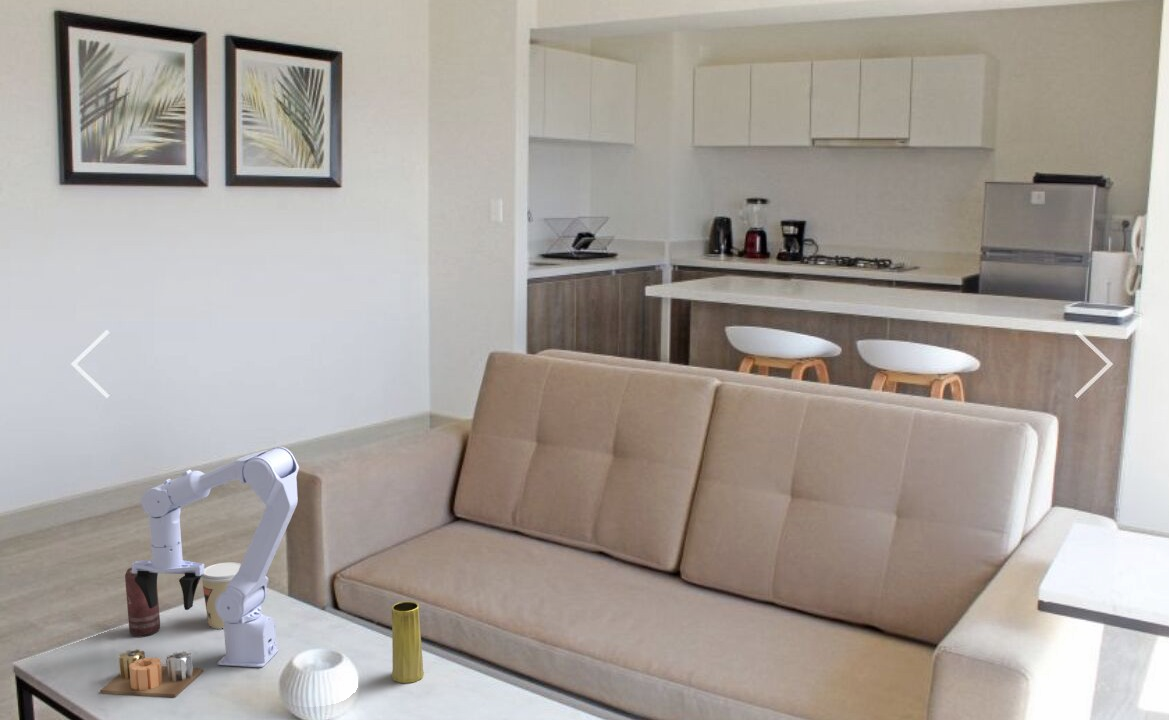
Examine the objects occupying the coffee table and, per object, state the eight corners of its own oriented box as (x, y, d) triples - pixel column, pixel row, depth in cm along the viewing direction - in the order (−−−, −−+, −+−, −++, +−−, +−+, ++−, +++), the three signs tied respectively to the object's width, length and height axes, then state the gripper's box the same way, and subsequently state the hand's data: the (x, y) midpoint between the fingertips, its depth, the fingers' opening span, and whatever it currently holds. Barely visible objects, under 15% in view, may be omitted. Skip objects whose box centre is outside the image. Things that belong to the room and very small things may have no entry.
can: (140, 640, 226) (135, 576, 223) (124, 632, 229) (118, 569, 227) (166, 630, 230) (162, 568, 228) (150, 623, 234) (145, 561, 232)
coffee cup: (206, 615, 238) (203, 563, 236) (250, 611, 240) (247, 560, 238) (202, 632, 229) (198, 578, 227) (248, 628, 231) (244, 574, 230)
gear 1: (150, 669, 211) (148, 648, 210) (137, 680, 206) (136, 658, 205) (128, 668, 211) (126, 647, 210) (115, 678, 207) (113, 657, 206)
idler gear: (164, 676, 208) (163, 656, 207) (158, 688, 202) (157, 668, 202) (135, 678, 207) (133, 658, 206) (128, 691, 202) (126, 671, 201)
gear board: (203, 671, 211) (202, 652, 210) (175, 697, 200) (173, 678, 200) (132, 667, 213) (130, 649, 212) (100, 693, 202) (98, 673, 202)
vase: (397, 686, 204) (394, 614, 202) (387, 673, 209) (385, 603, 207) (428, 679, 207) (425, 608, 204) (417, 666, 212) (415, 597, 210)
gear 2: (197, 671, 210) (195, 650, 209) (185, 682, 205) (184, 660, 204) (175, 670, 210) (173, 649, 209) (162, 680, 206) (161, 659, 205)
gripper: (209, 537, 220) (213, 601, 222) (142, 535, 221) (147, 598, 223) (193, 549, 213) (197, 614, 215) (124, 546, 214) (129, 611, 217)
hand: (170, 607), depth 219 cm, fingers open, 7 cm apart
